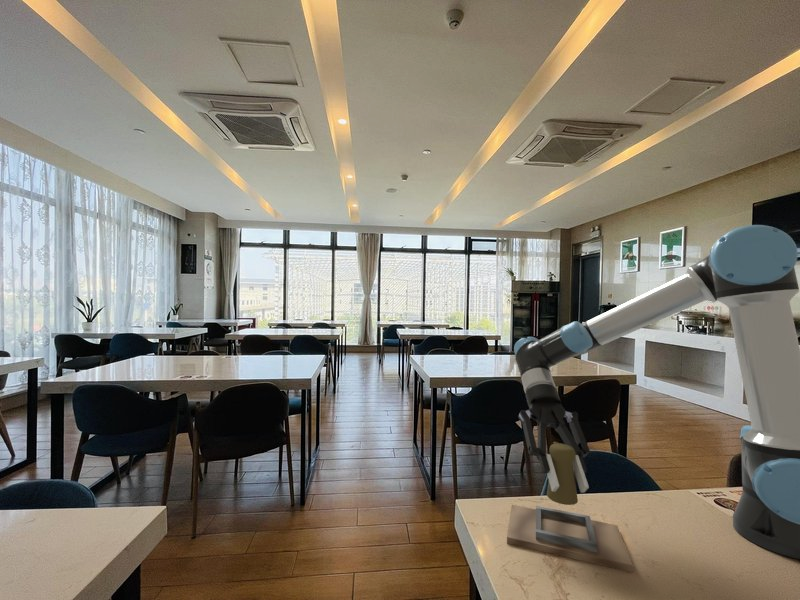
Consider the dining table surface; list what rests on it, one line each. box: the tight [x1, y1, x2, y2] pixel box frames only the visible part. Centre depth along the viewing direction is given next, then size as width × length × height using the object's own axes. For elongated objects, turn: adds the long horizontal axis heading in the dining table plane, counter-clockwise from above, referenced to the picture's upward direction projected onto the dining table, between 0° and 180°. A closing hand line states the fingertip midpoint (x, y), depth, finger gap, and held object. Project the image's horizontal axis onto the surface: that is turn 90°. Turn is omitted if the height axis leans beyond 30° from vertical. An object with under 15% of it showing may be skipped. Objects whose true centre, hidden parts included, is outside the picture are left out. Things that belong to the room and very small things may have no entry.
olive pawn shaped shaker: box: [546, 442, 579, 506], centre depth 77 cm, size 6×6×11 cm
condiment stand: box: [506, 504, 634, 573], centre depth 76 cm, size 22×14×3 cm, turn 69°
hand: (570, 489), depth 73 cm, fingers closed on olive pawn shaped shaker, 5 cm apart
